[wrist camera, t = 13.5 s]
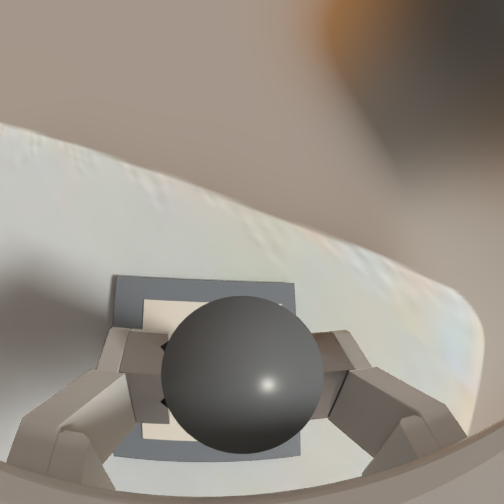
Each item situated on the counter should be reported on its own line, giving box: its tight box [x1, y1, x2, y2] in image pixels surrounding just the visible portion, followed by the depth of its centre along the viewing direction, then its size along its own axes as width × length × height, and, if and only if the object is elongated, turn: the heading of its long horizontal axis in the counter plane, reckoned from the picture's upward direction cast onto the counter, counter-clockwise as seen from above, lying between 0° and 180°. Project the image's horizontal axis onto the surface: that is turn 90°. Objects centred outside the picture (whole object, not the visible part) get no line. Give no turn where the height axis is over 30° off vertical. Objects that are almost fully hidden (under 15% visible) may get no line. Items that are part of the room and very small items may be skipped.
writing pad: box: [113, 276, 300, 462], centre depth 19 cm, size 12×12×1 cm
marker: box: [161, 296, 324, 454], centre depth 11 cm, size 3×3×11 cm
